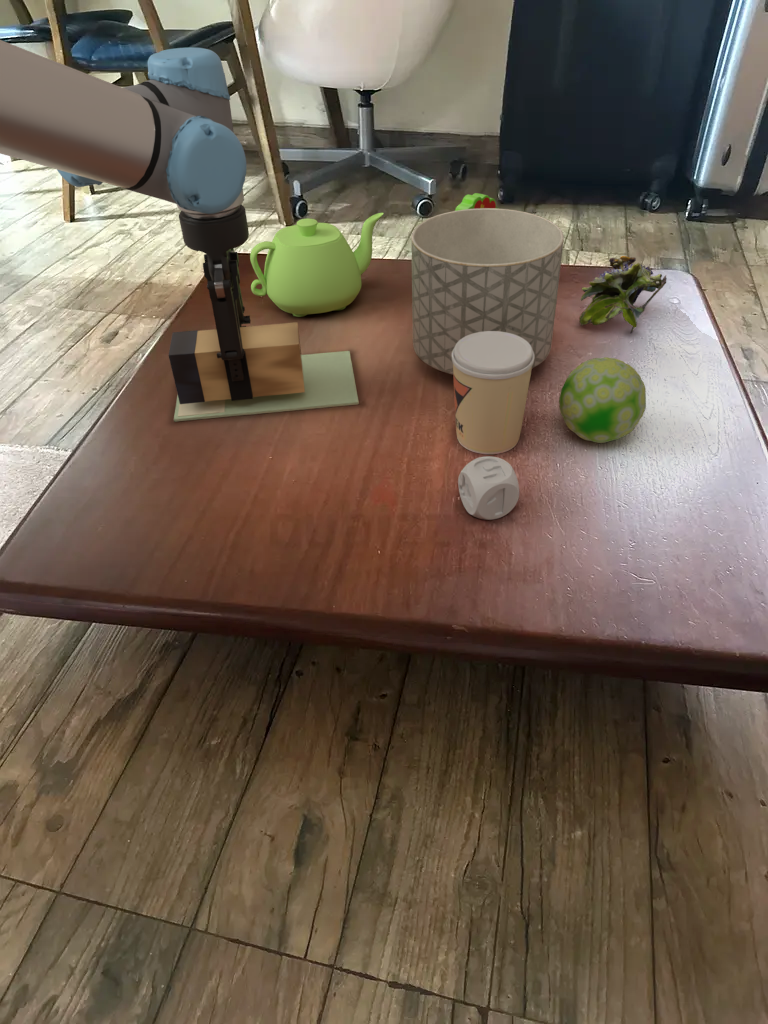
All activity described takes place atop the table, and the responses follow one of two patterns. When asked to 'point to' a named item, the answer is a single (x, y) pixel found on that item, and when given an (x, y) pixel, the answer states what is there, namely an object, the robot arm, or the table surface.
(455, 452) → the table surface
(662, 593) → the table surface
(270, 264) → the teapot
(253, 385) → the beech block
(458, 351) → the coffee cup
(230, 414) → the envelope
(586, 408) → the decorative ball
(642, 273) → the passion flower
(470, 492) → the die
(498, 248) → the planter
